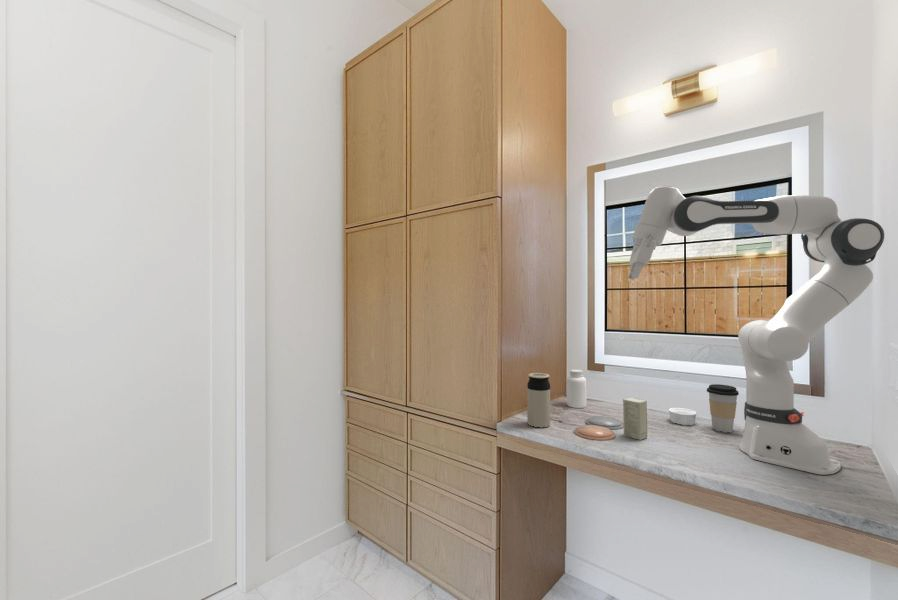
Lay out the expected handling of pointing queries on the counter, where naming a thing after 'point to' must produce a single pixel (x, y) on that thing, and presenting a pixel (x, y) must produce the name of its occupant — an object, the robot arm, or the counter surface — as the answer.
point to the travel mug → (538, 400)
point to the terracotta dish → (594, 432)
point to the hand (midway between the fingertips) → (632, 278)
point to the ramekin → (682, 416)
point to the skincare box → (635, 418)
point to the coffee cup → (722, 406)
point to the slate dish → (605, 422)
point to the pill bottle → (576, 389)
